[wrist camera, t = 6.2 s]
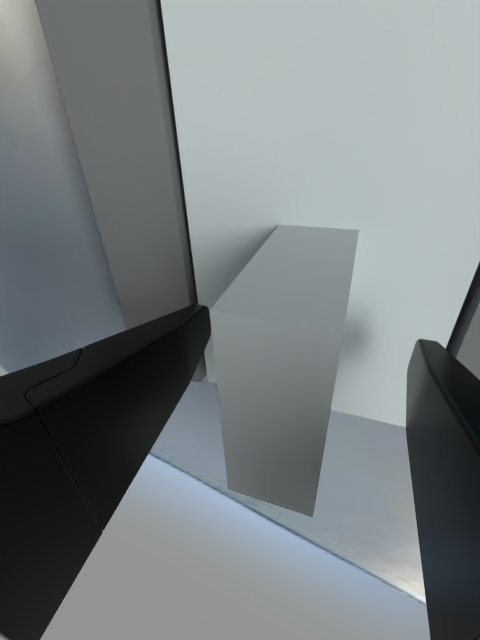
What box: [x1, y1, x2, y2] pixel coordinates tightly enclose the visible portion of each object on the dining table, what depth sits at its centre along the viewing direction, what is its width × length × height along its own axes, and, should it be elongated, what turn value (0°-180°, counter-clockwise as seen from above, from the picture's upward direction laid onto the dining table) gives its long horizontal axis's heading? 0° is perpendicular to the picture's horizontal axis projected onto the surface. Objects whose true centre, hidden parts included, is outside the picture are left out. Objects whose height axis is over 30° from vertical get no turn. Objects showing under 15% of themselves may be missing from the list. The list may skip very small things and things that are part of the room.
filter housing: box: [35, 0, 480, 383], centre depth 9 cm, size 16×14×4 cm
